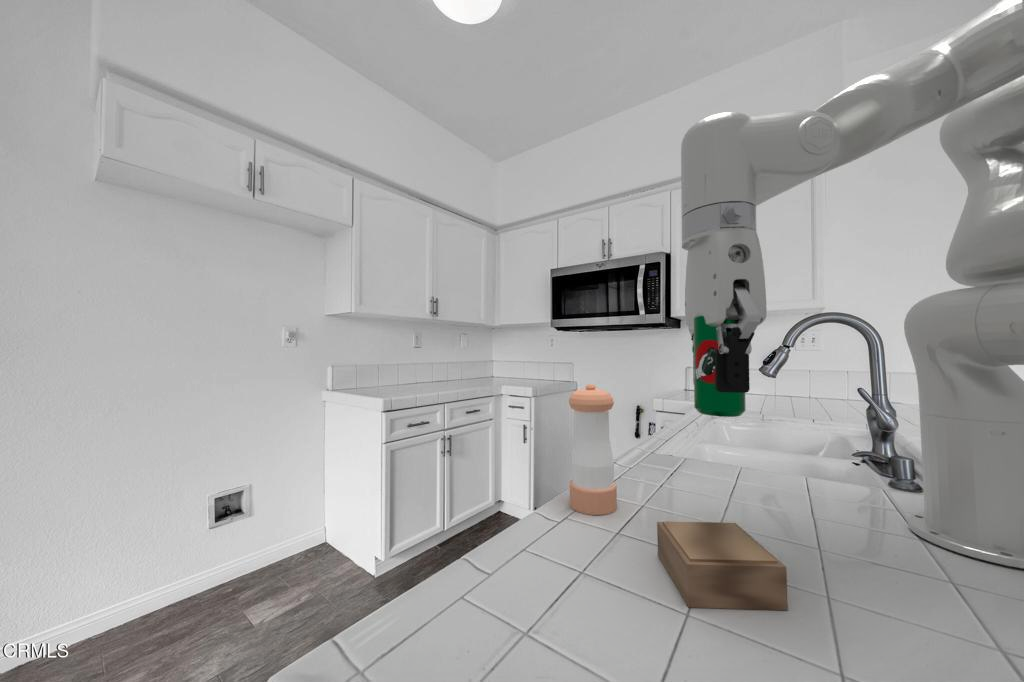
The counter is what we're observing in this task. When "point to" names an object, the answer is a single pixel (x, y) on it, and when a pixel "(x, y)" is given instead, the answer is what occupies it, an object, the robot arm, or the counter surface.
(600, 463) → the pepper shaker
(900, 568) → the counter surface
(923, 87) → the robot arm
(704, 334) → the soda can
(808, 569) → the counter surface
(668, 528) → the walnut base
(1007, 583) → the counter surface
